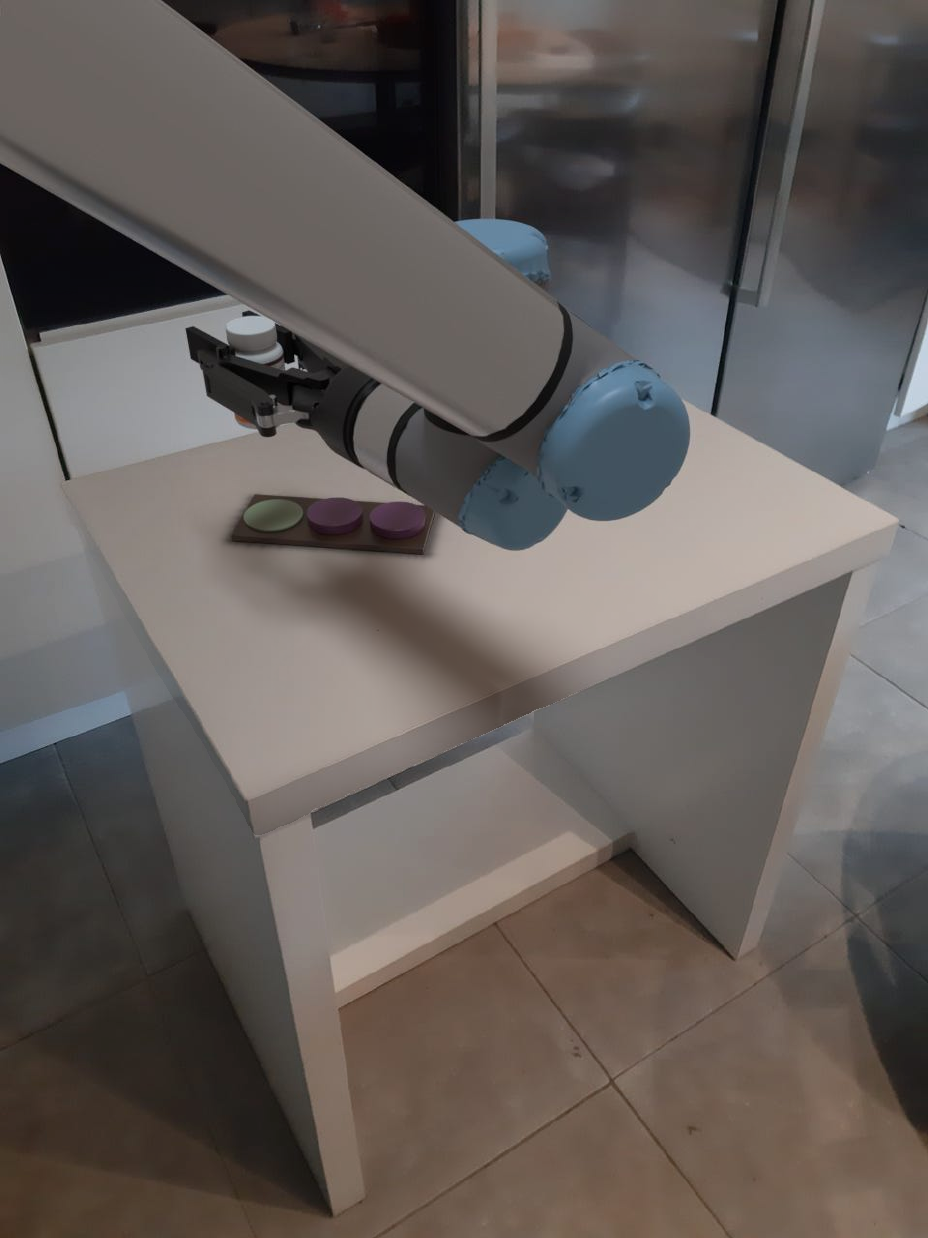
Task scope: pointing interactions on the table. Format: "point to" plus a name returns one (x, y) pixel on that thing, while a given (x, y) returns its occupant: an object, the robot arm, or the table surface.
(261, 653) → the table surface
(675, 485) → the table surface
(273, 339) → the pill bottle
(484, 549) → the table surface
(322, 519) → the board
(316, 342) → the robot arm
